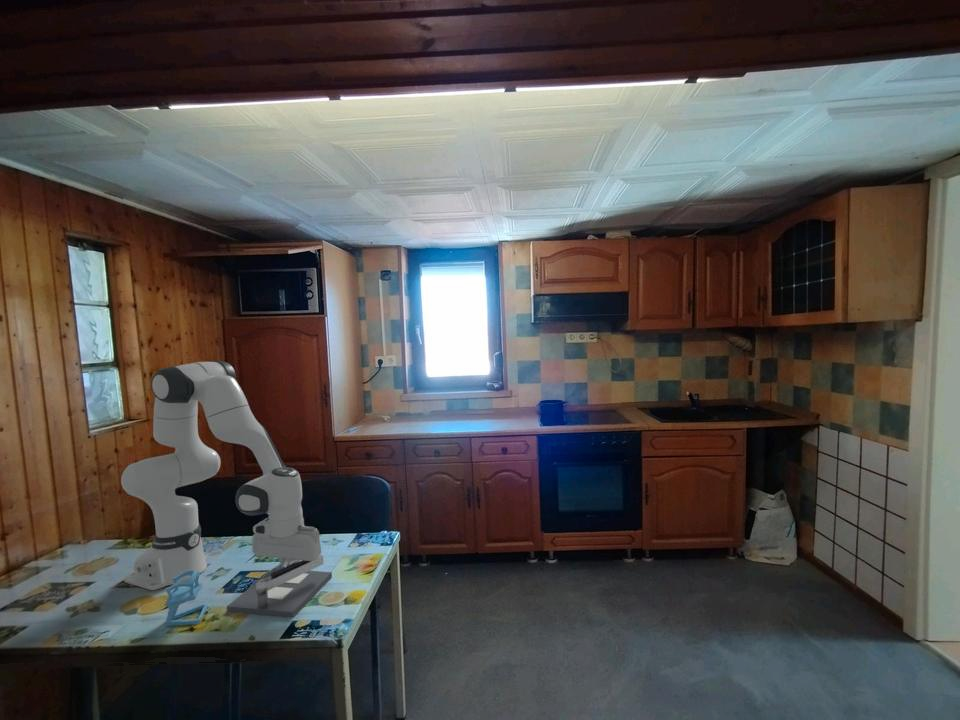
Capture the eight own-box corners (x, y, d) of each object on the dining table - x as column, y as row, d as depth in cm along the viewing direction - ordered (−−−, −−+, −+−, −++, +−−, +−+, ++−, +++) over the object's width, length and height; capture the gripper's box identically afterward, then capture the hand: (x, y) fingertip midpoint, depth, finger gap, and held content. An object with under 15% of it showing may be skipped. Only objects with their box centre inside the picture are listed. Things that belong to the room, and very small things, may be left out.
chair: (172, 614, 110) (169, 571, 109) (208, 606, 113) (205, 563, 112) (161, 632, 102) (158, 586, 102) (200, 623, 105) (196, 578, 105)
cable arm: (254, 592, 109) (253, 578, 109) (319, 562, 124) (318, 549, 124) (259, 596, 107) (258, 582, 107) (324, 565, 122) (323, 552, 122)
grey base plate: (227, 611, 110) (226, 593, 110) (274, 572, 128) (273, 557, 128) (293, 617, 106) (292, 599, 106) (331, 576, 125) (331, 561, 125)
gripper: (325, 522, 118) (326, 569, 118) (263, 517, 121) (264, 562, 122) (312, 532, 111) (313, 581, 112) (247, 526, 115) (248, 574, 116)
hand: (287, 571), depth 117 cm, fingers closed
